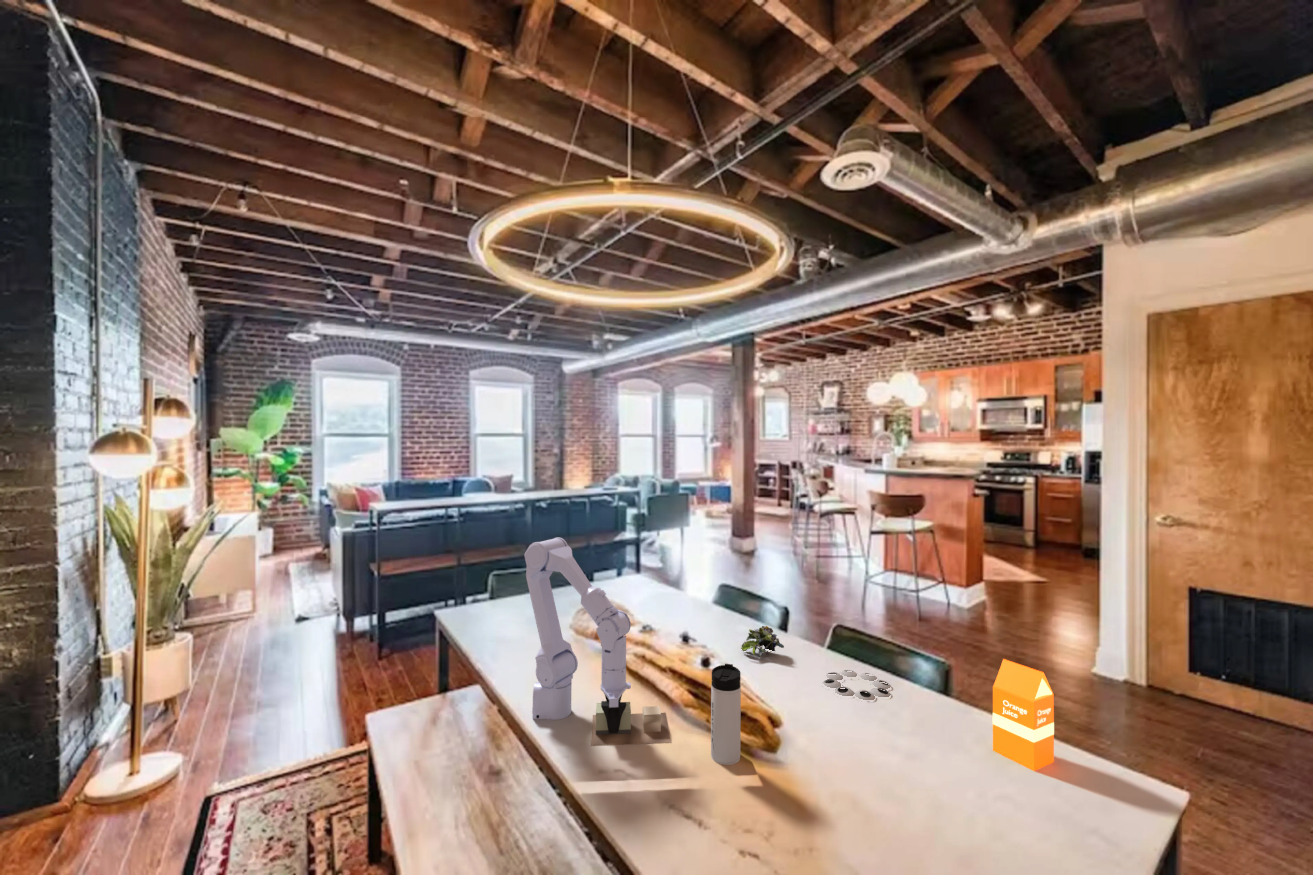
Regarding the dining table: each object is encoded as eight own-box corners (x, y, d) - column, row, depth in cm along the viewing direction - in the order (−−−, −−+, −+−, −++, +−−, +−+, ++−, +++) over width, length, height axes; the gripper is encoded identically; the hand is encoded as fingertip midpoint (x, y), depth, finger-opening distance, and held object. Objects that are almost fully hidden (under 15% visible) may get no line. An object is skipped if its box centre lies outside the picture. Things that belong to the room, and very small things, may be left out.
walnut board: (590, 752, 123) (590, 745, 123) (592, 720, 137) (592, 714, 137) (671, 749, 124) (671, 742, 124) (665, 718, 138) (665, 712, 138)
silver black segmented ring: (872, 711, 144) (872, 703, 144) (807, 686, 159) (807, 679, 159) (906, 689, 157) (906, 682, 157) (843, 668, 172) (843, 661, 172)
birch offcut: (643, 731, 129) (643, 714, 129) (642, 723, 133) (642, 706, 133) (660, 731, 129) (660, 714, 129) (659, 722, 133) (659, 705, 133)
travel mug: (743, 757, 121) (743, 665, 122) (737, 774, 115) (737, 677, 115) (714, 751, 123) (715, 661, 124) (707, 768, 117) (708, 672, 117)
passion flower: (767, 669, 183) (789, 641, 182) (758, 674, 173) (782, 645, 172) (741, 644, 188) (762, 616, 187) (731, 648, 178) (754, 619, 177)
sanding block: (595, 734, 127) (596, 712, 127) (596, 723, 132) (596, 702, 132) (630, 733, 128) (630, 711, 128) (630, 722, 133) (630, 701, 133)
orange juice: (1033, 771, 117) (1033, 675, 117) (992, 750, 125) (992, 661, 125) (1054, 761, 120) (1054, 669, 121) (1012, 742, 128) (1012, 655, 128)
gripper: (632, 678, 123) (631, 739, 123) (629, 653, 138) (629, 708, 138) (600, 678, 123) (599, 740, 123) (601, 654, 137) (600, 709, 137)
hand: (613, 724), depth 130 cm, fingers open, 7 cm apart
